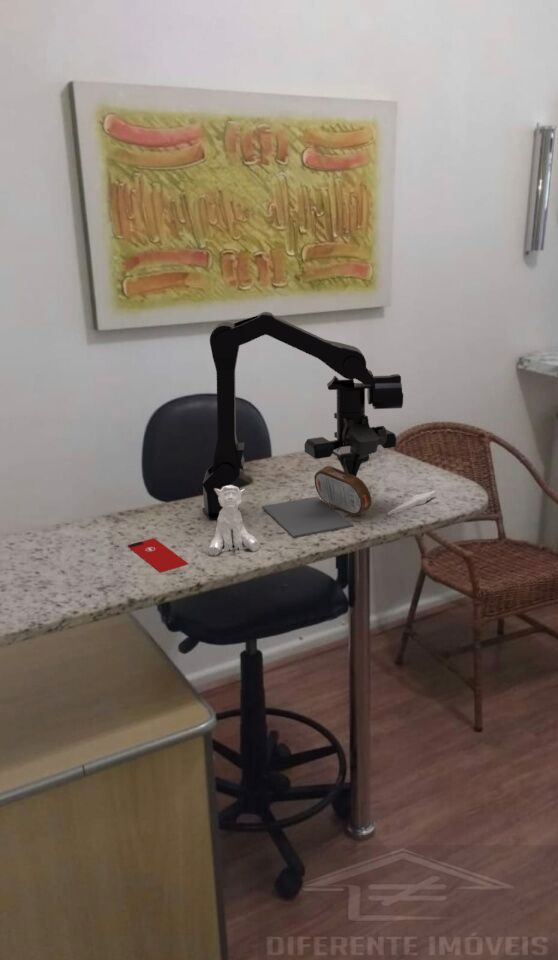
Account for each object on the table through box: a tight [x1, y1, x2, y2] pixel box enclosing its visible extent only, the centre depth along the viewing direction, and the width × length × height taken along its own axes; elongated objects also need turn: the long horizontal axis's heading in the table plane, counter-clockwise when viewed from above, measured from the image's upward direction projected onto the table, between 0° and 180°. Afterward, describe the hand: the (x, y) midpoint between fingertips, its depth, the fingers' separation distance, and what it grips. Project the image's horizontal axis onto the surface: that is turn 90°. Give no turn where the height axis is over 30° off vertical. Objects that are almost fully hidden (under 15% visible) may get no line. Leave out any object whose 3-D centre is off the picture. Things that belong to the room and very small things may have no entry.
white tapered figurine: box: [387, 490, 437, 515], centre depth 159 cm, size 15×3×2 cm, turn 129°
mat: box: [261, 496, 354, 538], centre depth 155 cm, size 13×18×1 cm
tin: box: [313, 465, 372, 516], centre depth 156 cm, size 15×3×8 cm, turn 39°
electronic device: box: [127, 538, 189, 573], centre depth 140 cm, size 6×1×15 cm
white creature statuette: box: [208, 485, 260, 557], centre depth 141 cm, size 10×9×12 cm
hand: (351, 482), depth 157 cm, fingers closed
